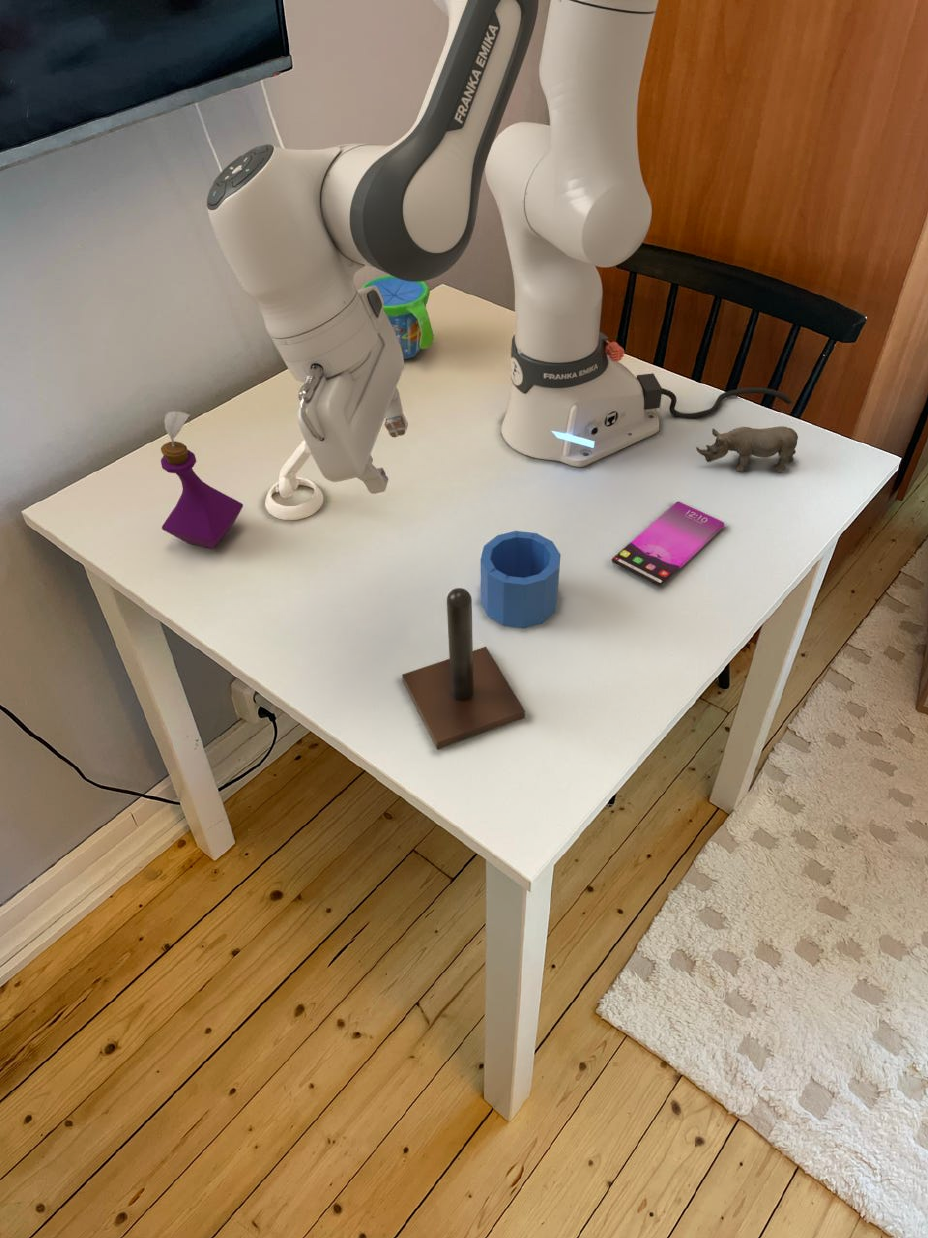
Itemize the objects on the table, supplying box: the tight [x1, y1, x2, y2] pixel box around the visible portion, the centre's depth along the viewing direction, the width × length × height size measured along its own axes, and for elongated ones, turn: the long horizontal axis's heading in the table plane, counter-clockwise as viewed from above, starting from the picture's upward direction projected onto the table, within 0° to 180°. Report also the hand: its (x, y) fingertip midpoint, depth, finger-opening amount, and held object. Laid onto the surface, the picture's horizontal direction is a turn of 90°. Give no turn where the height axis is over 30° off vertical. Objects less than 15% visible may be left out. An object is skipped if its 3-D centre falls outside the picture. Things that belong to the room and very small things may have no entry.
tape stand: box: [401, 587, 526, 750], centre depth 97 cm, size 10×10×16 cm
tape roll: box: [479, 530, 562, 629], centre depth 111 cm, size 9×9×7 cm
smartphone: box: [611, 501, 725, 587], centre depth 119 cm, size 7×15×1 cm, turn 139°
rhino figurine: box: [695, 425, 799, 473], centre depth 128 cm, size 4×14×6 cm, turn 89°
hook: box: [264, 439, 324, 521], centre depth 124 cm, size 8×12×7 cm
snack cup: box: [360, 274, 435, 360], centre depth 149 cm, size 16×10×10 cm
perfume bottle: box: [160, 410, 244, 550], centre depth 116 cm, size 8×8×18 cm
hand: (390, 459), depth 96 cm, fingers open, 8 cm apart
